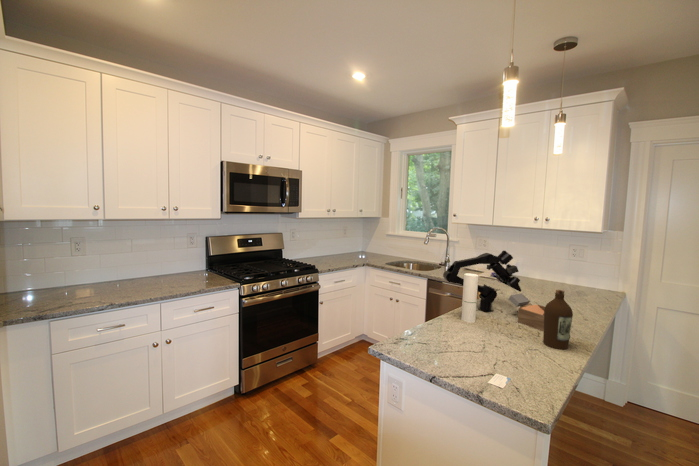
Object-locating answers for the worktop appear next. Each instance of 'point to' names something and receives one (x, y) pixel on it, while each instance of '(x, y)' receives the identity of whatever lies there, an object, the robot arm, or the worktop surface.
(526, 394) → the worktop surface
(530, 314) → the frame
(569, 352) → the worktop surface
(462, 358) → the worktop surface
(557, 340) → the olive oil
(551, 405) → the worktop surface
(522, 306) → the brown cube-like block
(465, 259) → the robot arm
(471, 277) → the cylindrical container
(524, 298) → the trapdoor
